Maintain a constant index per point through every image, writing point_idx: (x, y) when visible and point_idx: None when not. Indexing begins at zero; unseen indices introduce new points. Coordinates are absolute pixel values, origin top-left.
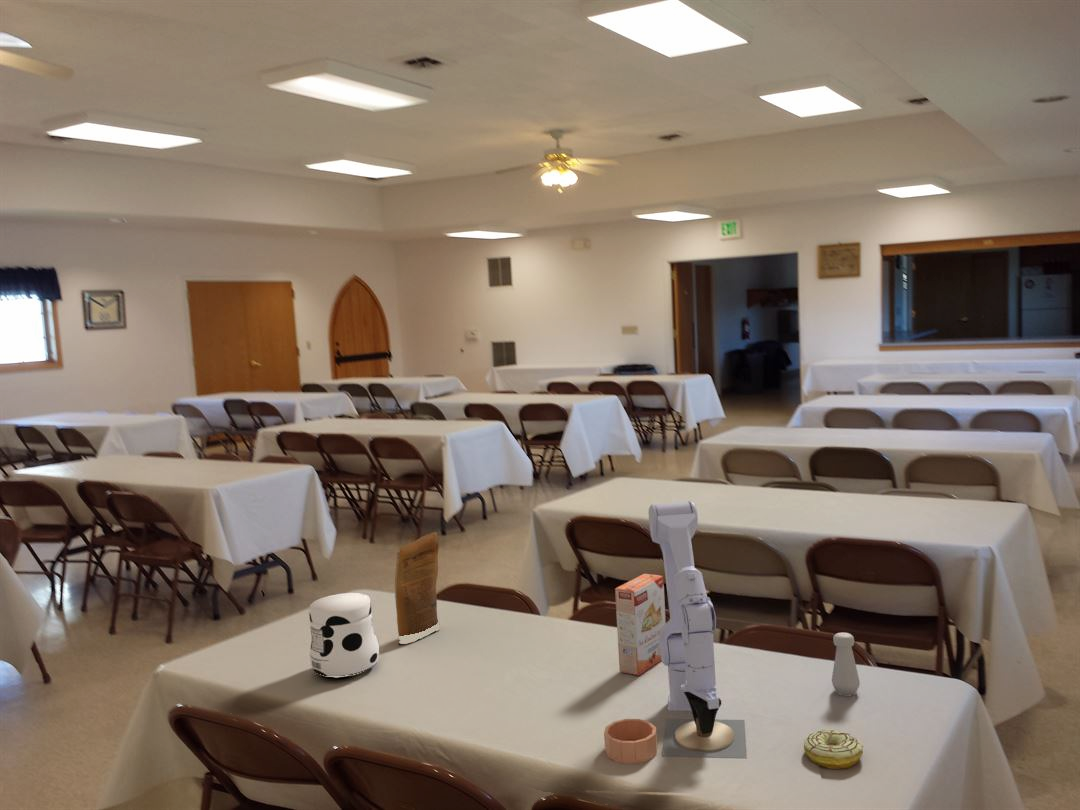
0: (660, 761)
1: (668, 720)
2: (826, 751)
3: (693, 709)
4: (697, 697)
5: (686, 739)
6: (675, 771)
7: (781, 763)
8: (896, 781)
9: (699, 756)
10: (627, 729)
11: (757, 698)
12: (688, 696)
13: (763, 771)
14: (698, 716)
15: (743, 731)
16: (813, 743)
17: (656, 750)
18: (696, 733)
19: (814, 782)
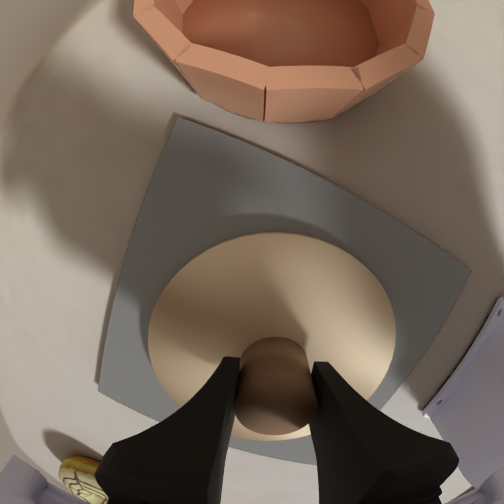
0: (159, 107)
1: (460, 273)
2: (63, 477)
3: (340, 413)
4: (345, 489)
5: (250, 275)
6: (76, 147)
7: (86, 426)
8: (53, 471)
9: (125, 272)
10: (397, 27)
11: None
12: (374, 469)
13: (53, 381)
14: (196, 409)
15: (258, 451)
16: (86, 486)
17: (201, 96)
18: (289, 338)
19: (31, 416)
